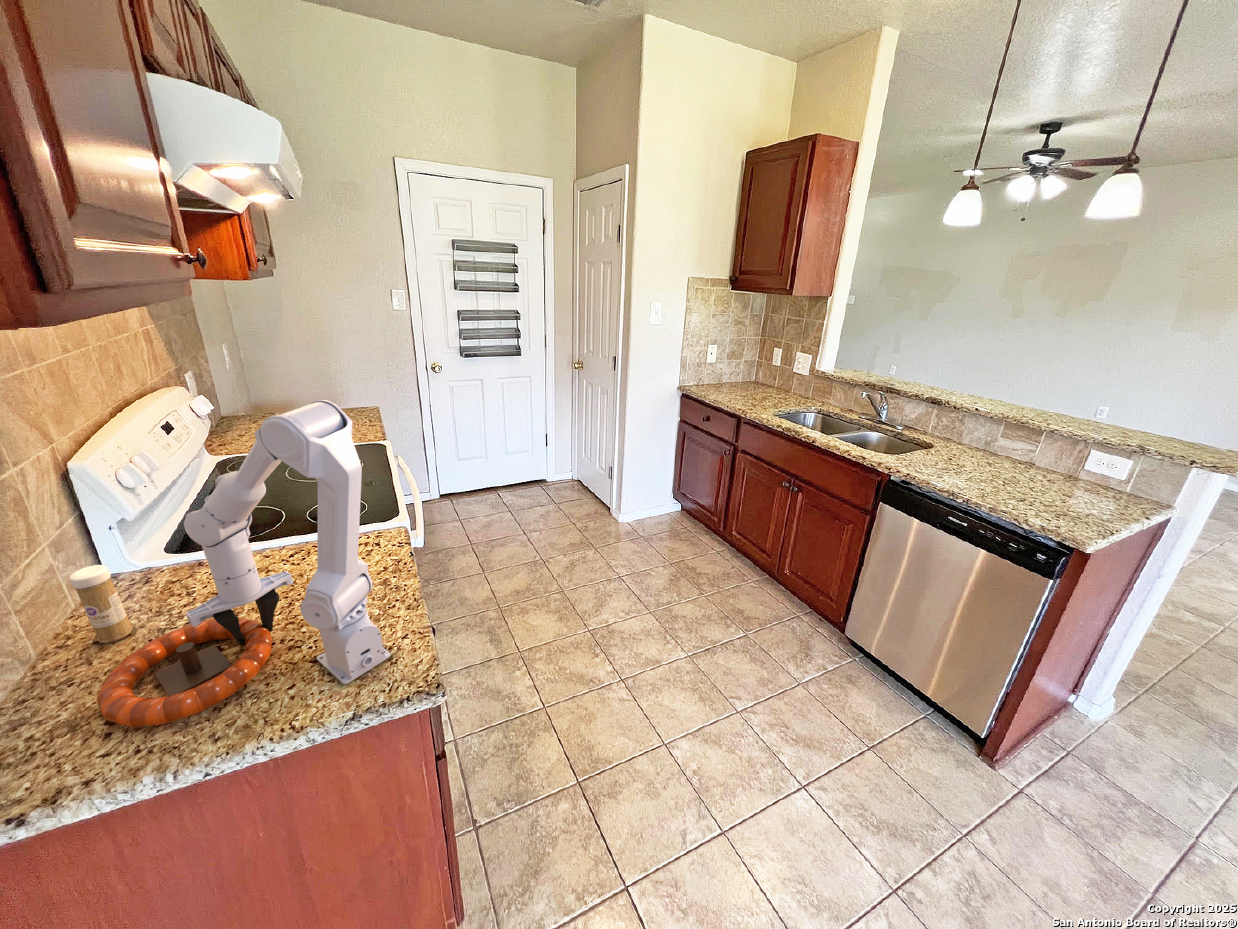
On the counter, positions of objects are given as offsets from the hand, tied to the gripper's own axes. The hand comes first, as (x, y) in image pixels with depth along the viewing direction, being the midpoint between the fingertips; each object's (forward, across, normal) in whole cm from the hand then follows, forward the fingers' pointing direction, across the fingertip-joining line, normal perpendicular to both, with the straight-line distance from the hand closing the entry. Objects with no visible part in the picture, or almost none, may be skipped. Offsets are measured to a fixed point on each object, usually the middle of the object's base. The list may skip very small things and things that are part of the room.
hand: (255, 636), depth 85 cm
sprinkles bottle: (+2, +14, -22) cm, 26 cm away
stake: (+2, +9, 0) cm, 9 cm away
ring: (0, +9, 0) cm, 9 cm away
